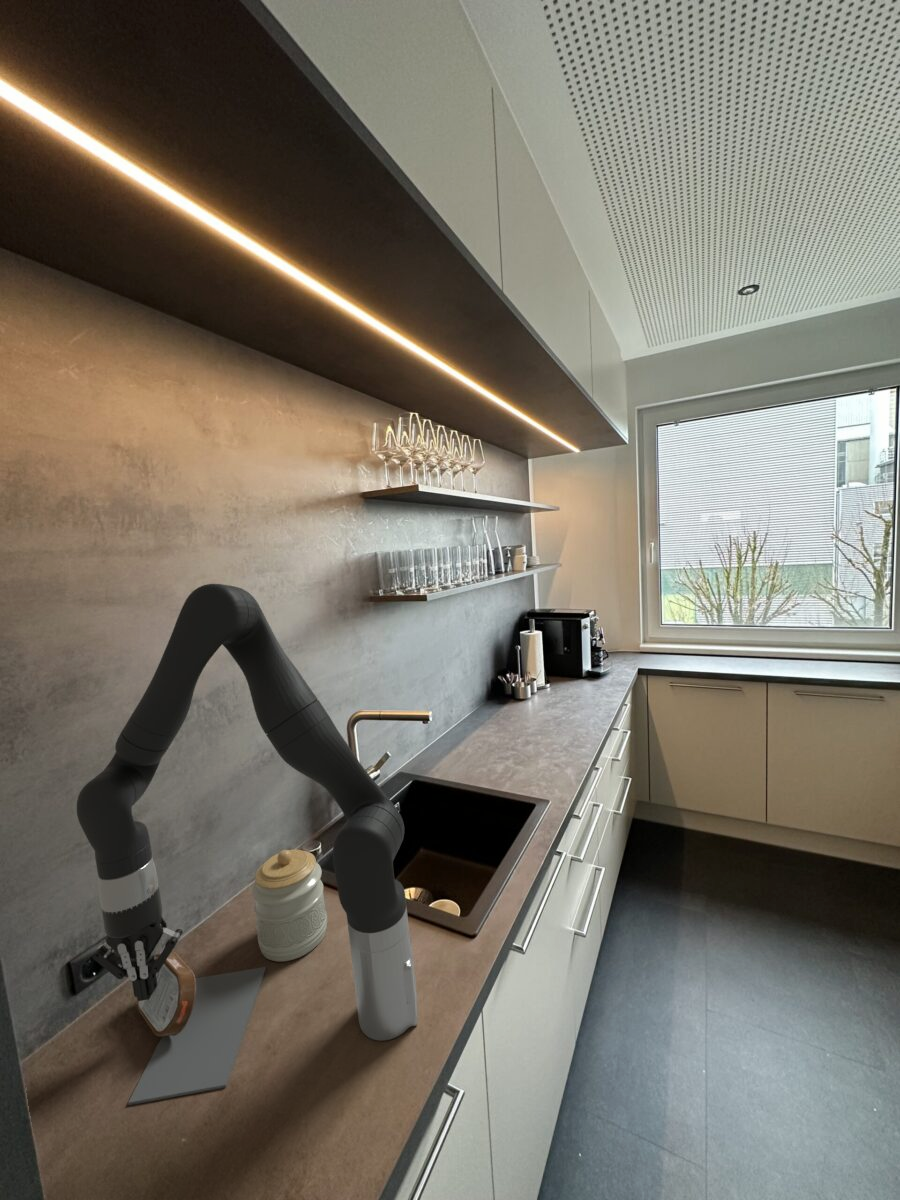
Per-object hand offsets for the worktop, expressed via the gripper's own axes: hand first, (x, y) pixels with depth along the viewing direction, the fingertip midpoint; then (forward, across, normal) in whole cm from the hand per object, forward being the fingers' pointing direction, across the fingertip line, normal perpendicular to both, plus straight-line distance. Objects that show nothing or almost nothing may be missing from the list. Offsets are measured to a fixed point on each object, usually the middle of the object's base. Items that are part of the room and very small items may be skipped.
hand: (146, 995), depth 76 cm
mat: (+6, -9, +1) cm, 11 cm away
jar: (+7, -19, -16) cm, 26 cm away
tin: (+5, 0, 0) cm, 5 cm away
